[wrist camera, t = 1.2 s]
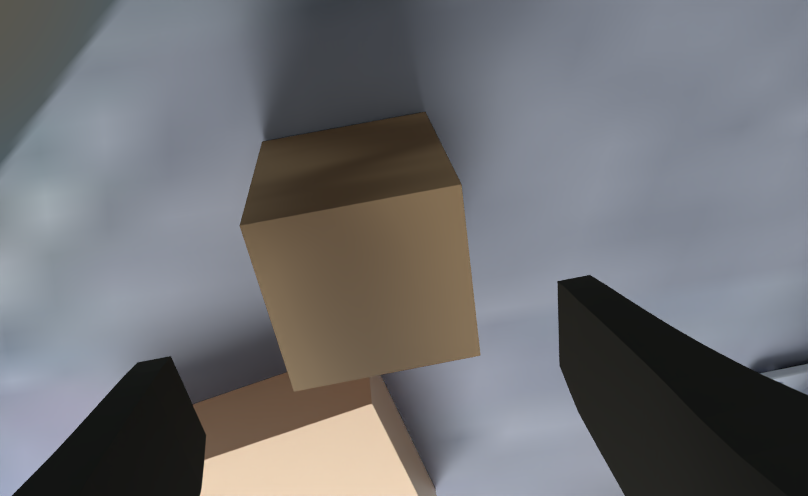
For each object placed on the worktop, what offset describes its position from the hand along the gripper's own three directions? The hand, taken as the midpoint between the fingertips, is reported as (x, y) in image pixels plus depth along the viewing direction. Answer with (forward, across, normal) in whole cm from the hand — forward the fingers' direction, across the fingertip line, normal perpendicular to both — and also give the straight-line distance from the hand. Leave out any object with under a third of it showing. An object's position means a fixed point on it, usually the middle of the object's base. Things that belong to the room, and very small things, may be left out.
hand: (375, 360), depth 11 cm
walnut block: (+7, 0, 0) cm, 7 cm away
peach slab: (+8, +4, +10) cm, 13 cm away
